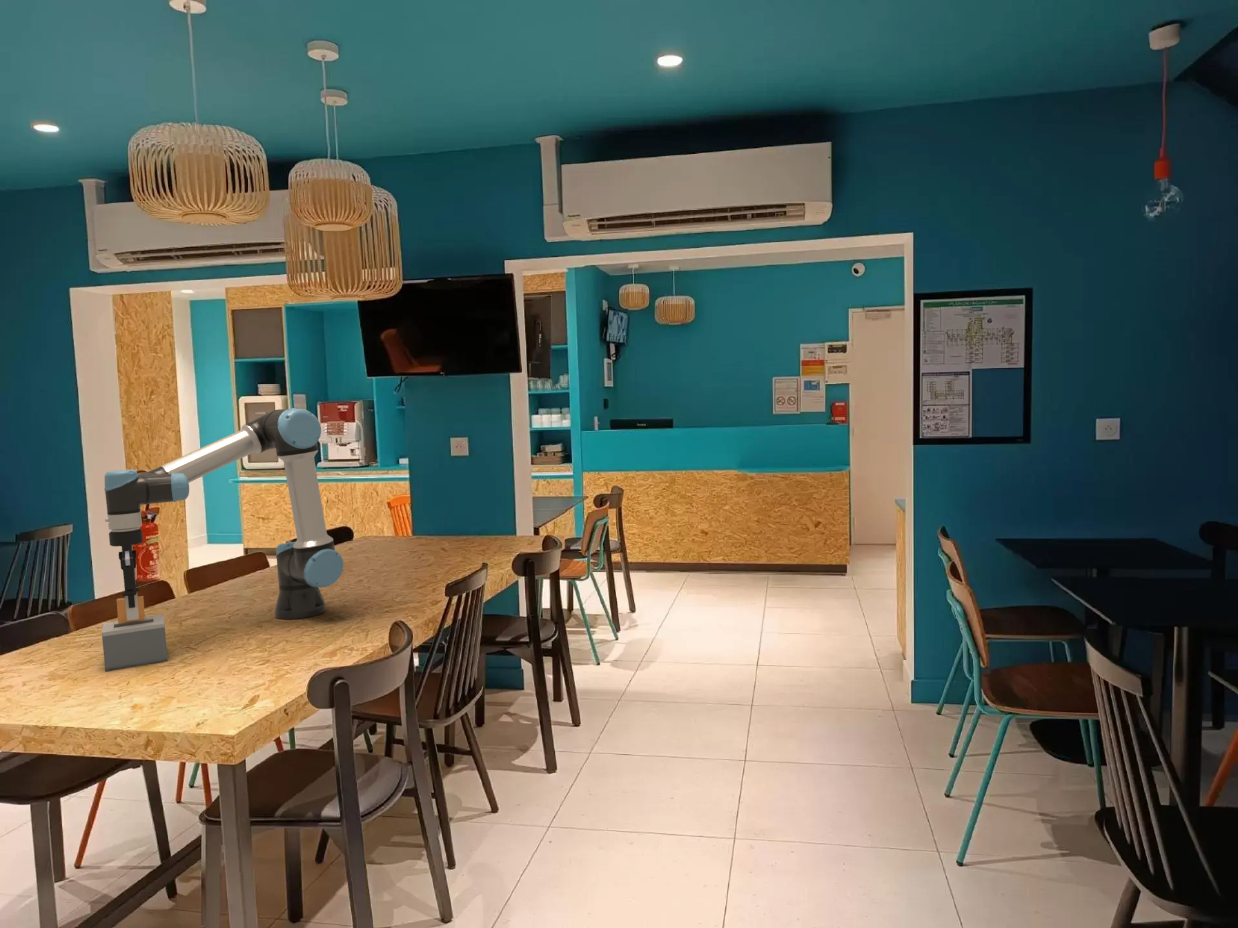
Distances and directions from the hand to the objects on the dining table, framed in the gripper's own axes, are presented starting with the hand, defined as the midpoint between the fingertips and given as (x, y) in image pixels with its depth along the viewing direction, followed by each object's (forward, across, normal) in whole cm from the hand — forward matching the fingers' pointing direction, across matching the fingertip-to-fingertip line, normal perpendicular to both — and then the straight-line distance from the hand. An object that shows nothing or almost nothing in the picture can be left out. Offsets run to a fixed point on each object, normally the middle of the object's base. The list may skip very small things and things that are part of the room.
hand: (133, 618), depth 222 cm
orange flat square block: (+1, 0, 0) cm, 1 cm away
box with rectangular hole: (+11, 0, 0) cm, 11 cm away
